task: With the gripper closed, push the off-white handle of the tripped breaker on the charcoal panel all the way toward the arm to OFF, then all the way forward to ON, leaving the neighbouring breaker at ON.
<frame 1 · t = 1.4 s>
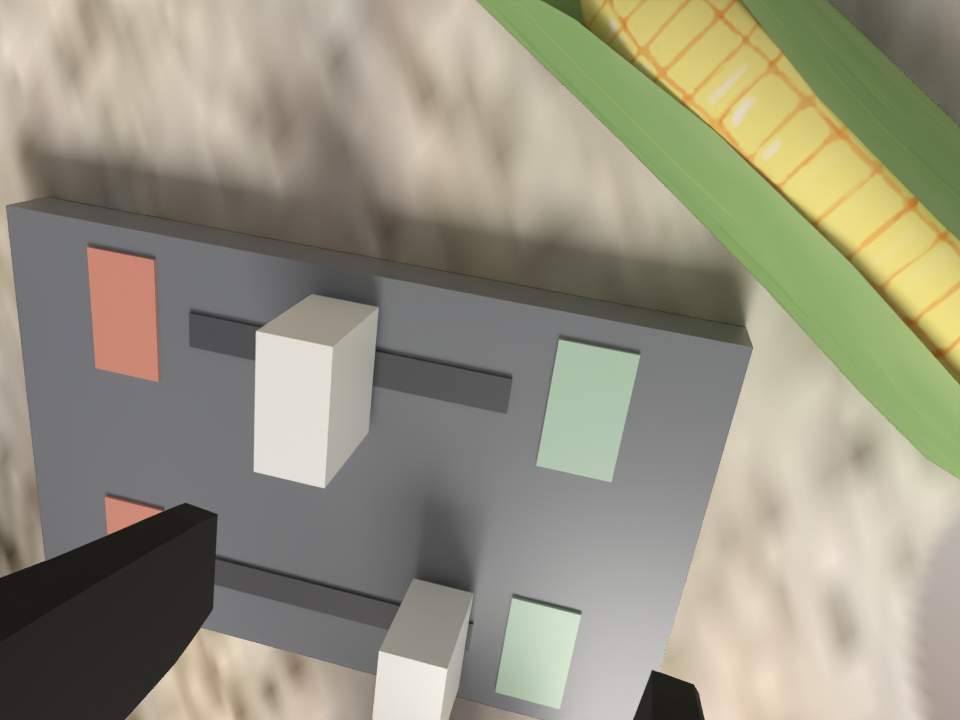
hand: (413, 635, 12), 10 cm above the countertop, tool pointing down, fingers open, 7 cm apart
breaker panel: (355, 463, 23), on the countertop
breaker b: (318, 386, 19), point 3 cm above the countertop, slide at 0.0 cm
breaker a: (422, 670, 21), point 3 cm above the countertop, slide at 3.5 cm
edible corn: (794, 160, 18), on the countertop
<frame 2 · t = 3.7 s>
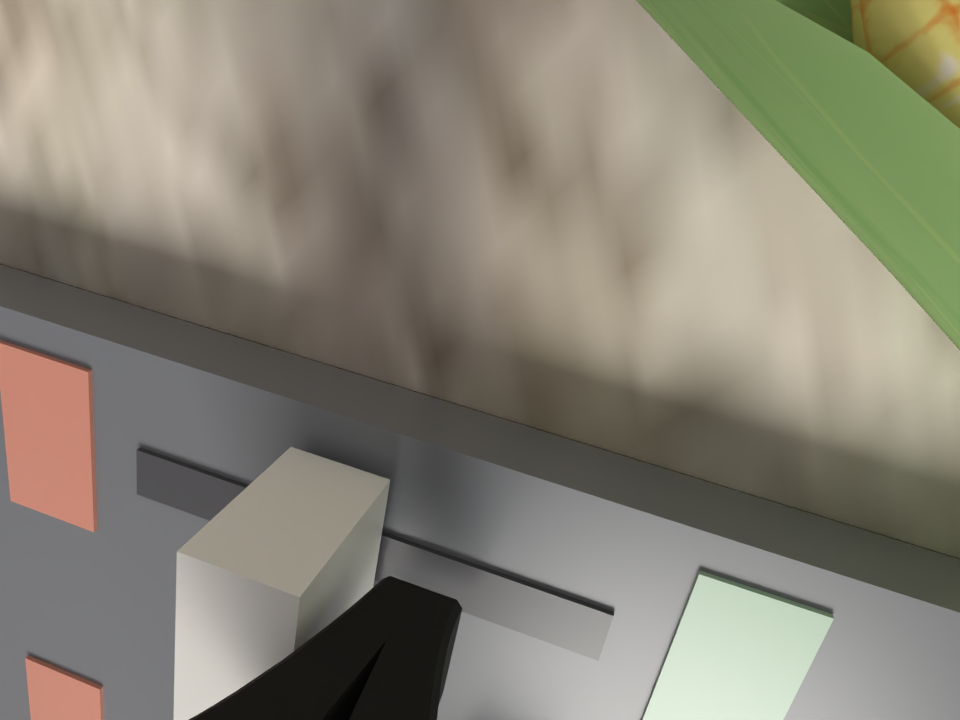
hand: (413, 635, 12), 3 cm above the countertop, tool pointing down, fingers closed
breaker panel: (366, 653, 16), on the countertop
breaker b: (285, 604, 12), point 3 cm above the countertop, slide at -0.4 cm, touching gripper
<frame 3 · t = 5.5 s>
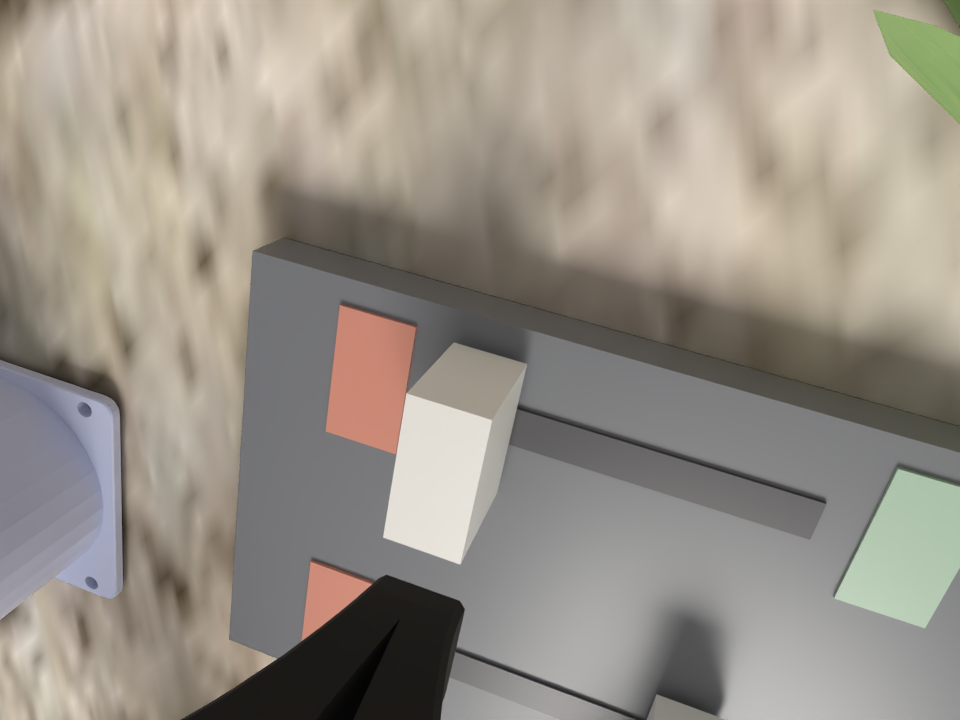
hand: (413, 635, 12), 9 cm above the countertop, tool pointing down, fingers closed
breaker panel: (590, 554, 21), on the countertop
breaker b: (456, 448, 17), point 3 cm above the countertop, slide at -3.6 cm
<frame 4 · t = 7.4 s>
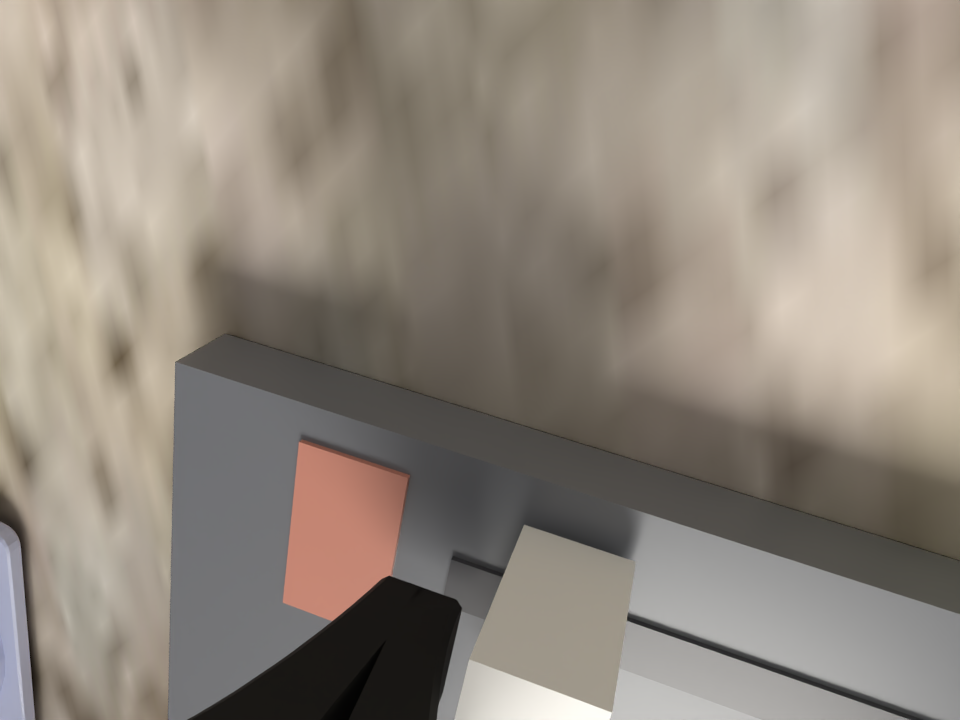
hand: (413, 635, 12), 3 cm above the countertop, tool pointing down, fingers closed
breaker b: (533, 697, 11), point 3 cm above the countertop, slide at -2.5 cm, touching gripper
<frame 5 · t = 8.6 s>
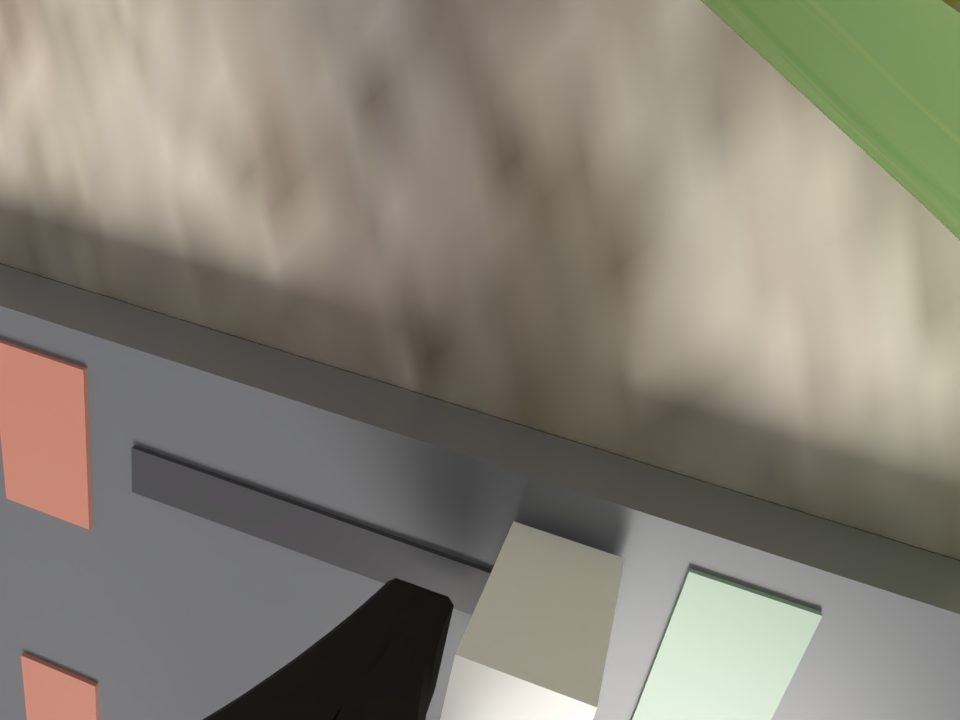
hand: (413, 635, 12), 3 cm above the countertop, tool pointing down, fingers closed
breaker panel: (361, 650, 17), on the countertop
breaker b: (522, 693, 11), point 3 cm above the countertop, slide at 3.6 cm, touching gripper
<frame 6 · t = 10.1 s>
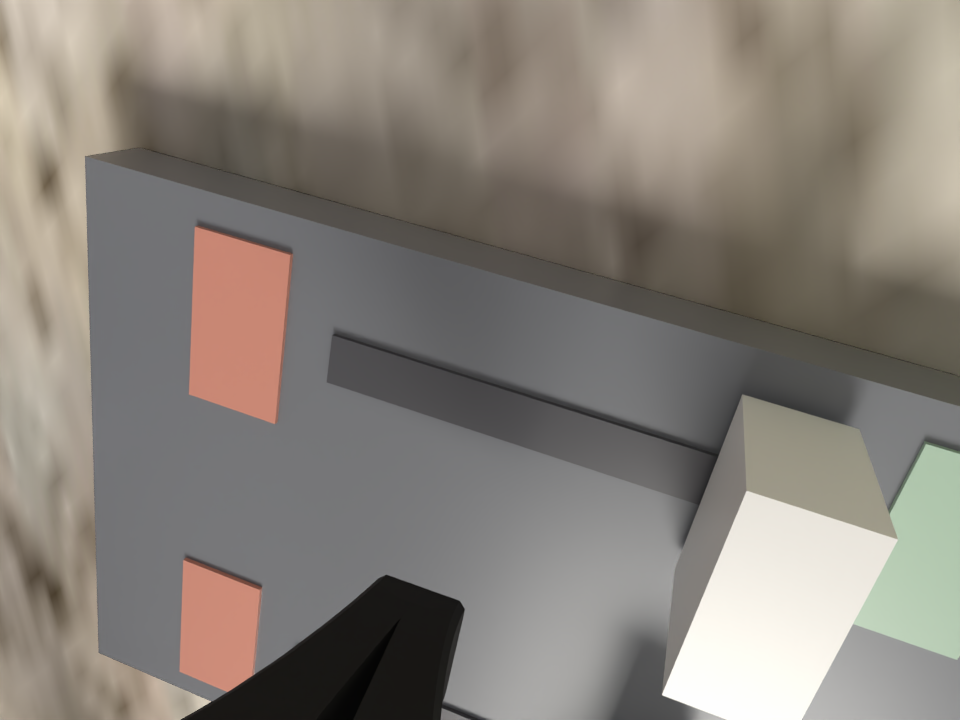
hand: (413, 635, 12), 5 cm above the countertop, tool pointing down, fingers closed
breaker panel: (529, 555, 17), on the countertop
breaker b: (764, 557, 11), point 3 cm above the countertop, slide at 3.6 cm
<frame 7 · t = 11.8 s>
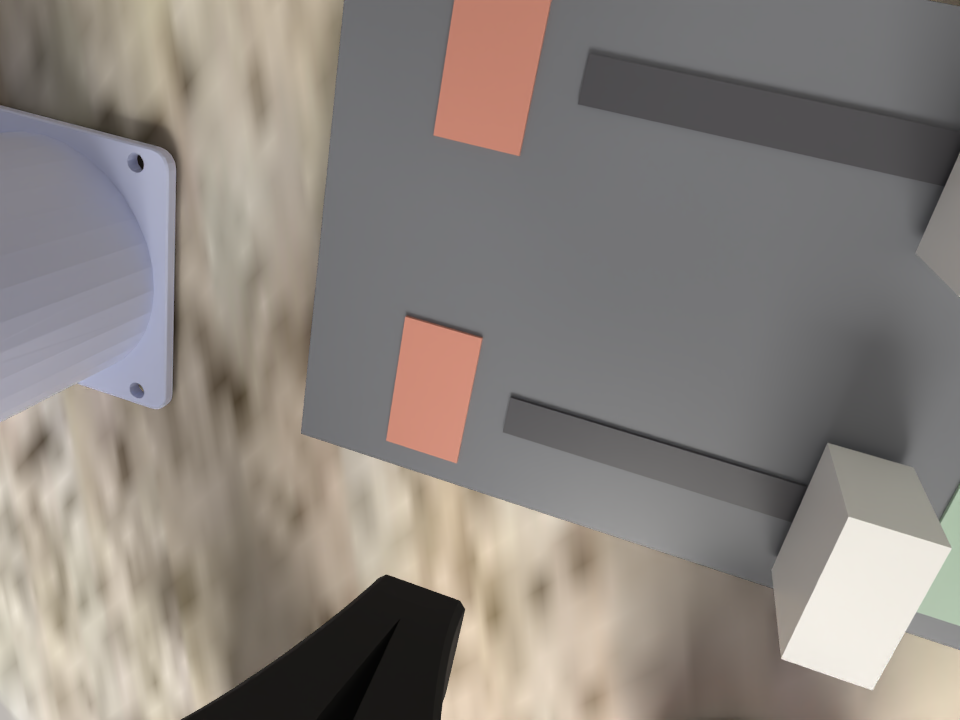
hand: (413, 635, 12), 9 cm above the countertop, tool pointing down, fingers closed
breaker panel: (738, 295, 18), on the countertop
breaker a: (848, 560, 16), point 3 cm above the countertop, slide at 3.5 cm
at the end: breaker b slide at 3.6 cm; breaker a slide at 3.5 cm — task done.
